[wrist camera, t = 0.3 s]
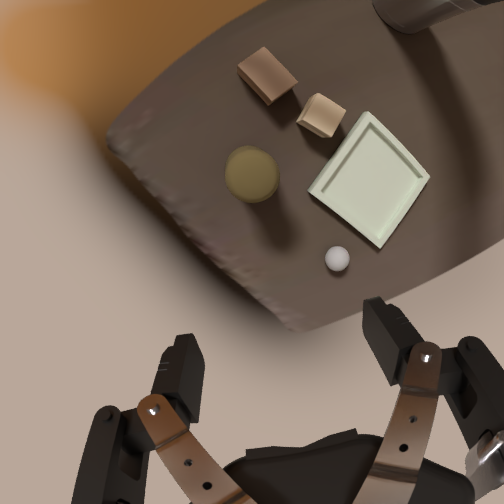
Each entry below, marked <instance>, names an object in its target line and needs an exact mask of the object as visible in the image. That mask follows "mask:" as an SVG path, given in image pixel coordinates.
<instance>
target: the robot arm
mask: <svg viewBox="0 0 504 504" xmlns="http://www.w3.org/2000/svg"><path fill="white" fill-rule="evenodd" d="M500 1H504V0H373V5H374V8H375V10H376V11H377V13H378V15H379V16H380V17H381V18H382V19H383V20H384V21H385V22H386V23H387V24H388V25H389V26H391V27H392V28H394V29H395V30H397V31H399V32H402V33H405V34H413V33H416V32H418V31H421V30H423V29H425V28H427V27H430V26H432V25H434V24H436V23H439V22H441V21H444V20H446V19H449V18H451V17H454V16H456V15H459V14H461V13H464V12H467V11H470V10H472V9H475V8H478V7H481V6H485V5H488V4H491V3H495V2H500ZM362 328H363V333H364V336H365V338H366V340H367V342H368V344H369V346H370V348H371V350H372V351H373V353H374V355H375V357H376V359H377V361H378V363H379V365H380V367H381V368H382V370H383V372H384V374H385V376H386V378H387V380H388V382H389V384H390V386H393V385H396V384H399V385H400V387H401V389H400V392H399V395H398V398H397V401H396V405H395V408H394V410H393V413H392V416H391V419H390V421H389V424H388V427H387V429H386V432H385V434H384V437H380V436H375V435H370V434H357V431H356V428H354V429H351V430H347V431H344V432H340V433H336V434H333V435H329V436H327V437H325V438H323V439H320V440H318V441H316V442H314V443H312V444H309V445H307V446H305V447H300V448H299V447H277V446H271V447H263V448H255V449H246V456H244V457H241V458H239V459H237V460H235V461H233V462H231V463H229V464H228V465H227V466H225V467H224V468H223V469H222V468H221V467H220V466H219V465H218V464H217V463H216V462H215V461H214V459H213V458H212V457H211V456H210V455H209V454H208V452H207V451H206V450H205V449H204V448H203V447H202V445H201V444H200V443H199V442H198V441H197V439H196V438H195V437H194V436H193V434H192V433H191V432H190V431H189V428H190V423H198V421H199V412H200V403H201V395H202V386H203V378H204V371H205V362H204V358H203V355H202V353H201V350H200V348H199V346H198V344H197V341H196V339H195V336H194V335H193V334H192V333H190V334H183V335H177V336H176V339H175V342H174V345H173V346H170V347H168V348H167V349H166V350H165V352H164V353H163V354H162V357H161V360H160V364H159V366H158V371H157V373H156V376H155V380H154V383H153V387H152V390H151V394H150V395H148V396H146V397H145V398H143V399H142V400H141V401H140V402H139V404H138V406H137V408H134V409H131V410H127V411H123V412H120V410H119V409H118V408H117V407H115V406H111V405H110V406H105V407H102V408H101V409H99V410H98V411H97V413H96V414H95V416H94V419H93V422H92V425H91V429H90V432H89V435H88V438H87V442H86V445H85V448H84V452H83V456H82V460H81V463H80V467H79V471H78V475H77V479H76V483H75V488H74V492H73V497H72V502H71V504H144V497H145V487H146V478H147V469H148V461H149V453H150V451H152V450H156V452H157V453H158V455H159V457H160V458H161V460H162V461H163V463H164V464H165V466H166V467H167V469H168V470H169V472H170V473H171V475H172V476H173V477H174V479H175V481H176V482H177V483H178V485H179V486H180V487H181V489H182V490H183V491H184V493H185V494H186V495H187V497H188V498H189V499H190V500H191V502H190V503H189V504H475V501H477V500H478V499H480V498H481V497H483V496H484V495H486V494H487V493H489V492H490V491H492V490H495V489H497V488H499V487H500V486H502V485H503V484H504V370H503V368H502V367H501V366H500V364H499V363H498V362H497V360H496V359H495V357H494V356H493V355H492V353H491V352H490V351H489V349H488V348H487V347H486V345H485V344H484V343H483V342H482V341H481V340H480V339H479V338H477V337H474V336H467V337H464V338H462V339H461V340H460V341H459V343H458V346H457V347H454V348H446V349H440V348H439V346H437V345H436V344H434V343H432V342H427V341H426V342H425V341H424V340H423V338H422V337H421V336H420V334H419V333H418V332H417V330H416V329H415V328H414V326H413V325H412V324H411V322H409V320H408V319H407V317H405V315H404V314H403V312H402V311H401V310H400V309H399V308H398V307H396V306H394V305H393V304H388V305H386V304H385V302H384V301H383V300H382V298H381V297H380V296H377V297H373V298H370V299H366V300H364V302H363V321H362ZM439 395H444V397H445V399H446V401H447V403H448V405H449V407H450V409H451V411H452V413H453V415H454V417H455V419H456V421H457V423H458V425H459V428H460V430H461V432H462V434H463V436H464V439H465V441H466V443H467V445H468V448H469V452H468V454H467V456H466V460H465V464H466V476H464V475H463V474H460V473H458V472H455V471H453V470H450V469H448V468H446V467H443V466H441V465H439V464H437V463H434V462H432V461H430V460H428V459H426V458H423V457H424V454H425V450H426V447H427V443H428V440H429V437H430V433H431V428H432V425H433V421H434V416H435V412H436V407H437V402H438V397H439Z"/></svg>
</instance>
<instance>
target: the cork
mask: <svg viewBox="0 0 504 504" xmlns="http://www.w3.org/2000/svg"><path fill="white" fill-rule="evenodd" d="M225 181H226V185H227V188H228V189H229V191H230V192H231V194H232V195H233V196H235V197H236V198H237V199H239V200H241V201H244V202H246V203H257V202H261V201H264V200H266V199H267V198H269V197H271V195H272V194H273V193H274V192H275V191H276V189H277V187H278V184H279V181H280V172H279V168H278V165H277V163H276V162H275V160H274V159H273V158H272V157H271V156H270V155H269V154H267V153H266V152H264V151H263V150H262V149H260V148H258V147H255V146H243V147H239V148H237V149H236V150H234V151H233V152H232V153H231V154H230V155H229V157H228V159H227V161H226V164H225Z"/></svg>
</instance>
